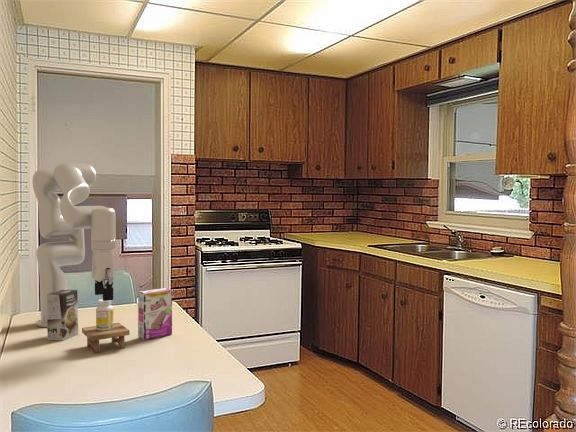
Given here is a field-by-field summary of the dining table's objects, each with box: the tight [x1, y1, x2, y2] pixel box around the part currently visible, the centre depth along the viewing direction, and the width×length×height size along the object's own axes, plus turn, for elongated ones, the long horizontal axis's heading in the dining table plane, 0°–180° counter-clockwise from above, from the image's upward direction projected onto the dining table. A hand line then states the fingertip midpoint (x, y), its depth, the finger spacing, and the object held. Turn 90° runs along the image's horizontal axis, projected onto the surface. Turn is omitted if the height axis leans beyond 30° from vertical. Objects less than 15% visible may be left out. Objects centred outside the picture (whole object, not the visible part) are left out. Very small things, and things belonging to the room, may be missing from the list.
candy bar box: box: [137, 287, 173, 341], centre depth 184 cm, size 11×5×16 cm, turn 134°
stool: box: [81, 322, 131, 354], centre depth 172 cm, size 12×12×6 cm
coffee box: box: [46, 289, 79, 342], centre depth 184 cm, size 9×6×16 cm
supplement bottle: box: [95, 298, 114, 331], centre depth 172 cm, size 5×5×10 cm
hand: (103, 297), depth 172 cm, fingers open, 9 cm apart
